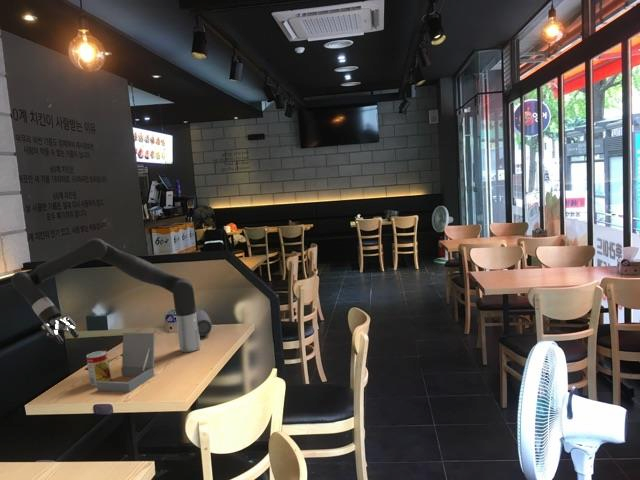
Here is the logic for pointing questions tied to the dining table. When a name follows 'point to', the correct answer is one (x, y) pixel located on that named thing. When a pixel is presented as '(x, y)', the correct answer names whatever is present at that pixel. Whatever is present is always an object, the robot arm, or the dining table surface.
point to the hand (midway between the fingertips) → (69, 340)
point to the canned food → (98, 367)
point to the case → (134, 362)
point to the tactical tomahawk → (108, 360)
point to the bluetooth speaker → (203, 322)
